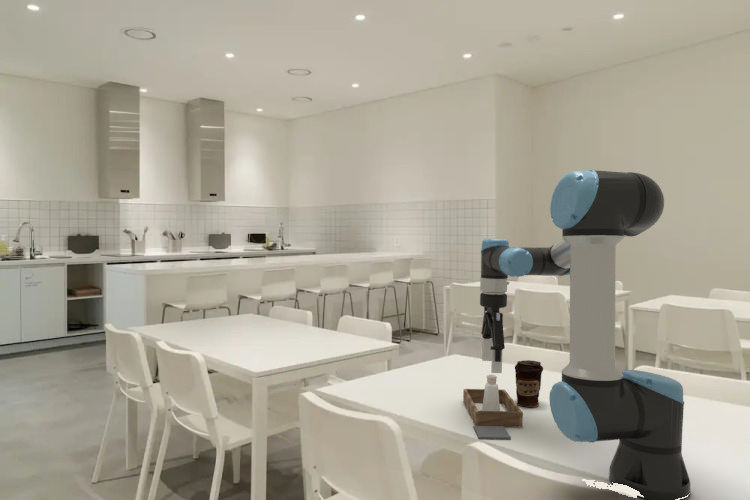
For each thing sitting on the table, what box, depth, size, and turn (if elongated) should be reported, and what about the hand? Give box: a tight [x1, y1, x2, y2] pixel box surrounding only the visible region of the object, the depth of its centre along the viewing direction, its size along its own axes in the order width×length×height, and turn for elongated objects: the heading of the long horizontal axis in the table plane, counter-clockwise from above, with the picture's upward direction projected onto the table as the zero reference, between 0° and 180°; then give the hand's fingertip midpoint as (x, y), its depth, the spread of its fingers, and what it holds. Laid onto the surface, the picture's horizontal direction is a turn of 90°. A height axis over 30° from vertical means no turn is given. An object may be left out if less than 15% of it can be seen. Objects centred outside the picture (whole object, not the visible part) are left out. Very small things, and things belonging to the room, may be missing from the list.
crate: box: [462, 388, 524, 428], centre depth 160 cm, size 22×13×4 cm, turn 0°
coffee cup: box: [514, 359, 544, 408], centre depth 169 cm, size 9×8×13 cm
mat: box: [472, 425, 512, 441], centre depth 145 cm, size 8×8×1 cm
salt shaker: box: [481, 374, 501, 411], centre depth 160 cm, size 5×5×11 cm
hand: (491, 366), depth 160 cm, fingers open, 13 cm apart
